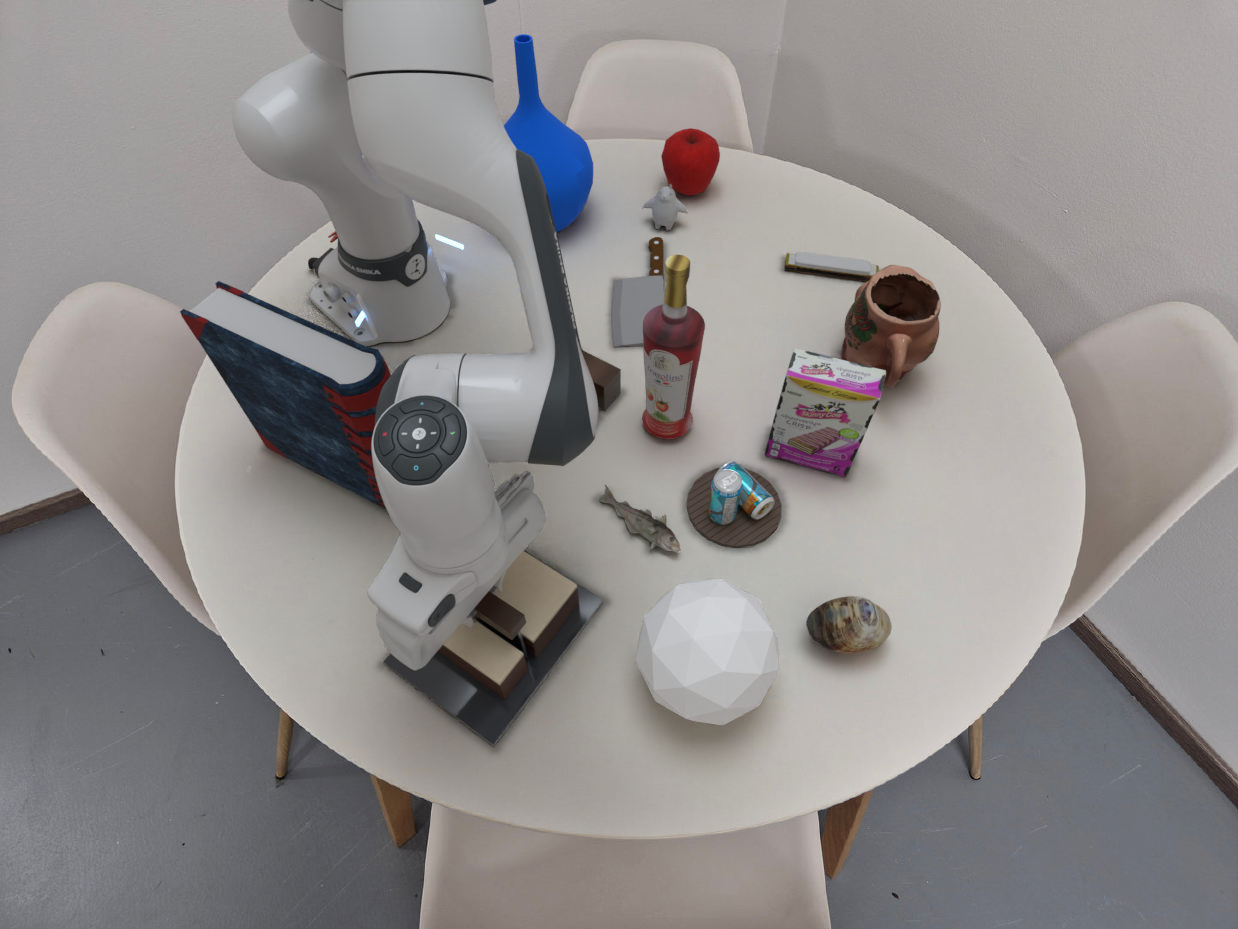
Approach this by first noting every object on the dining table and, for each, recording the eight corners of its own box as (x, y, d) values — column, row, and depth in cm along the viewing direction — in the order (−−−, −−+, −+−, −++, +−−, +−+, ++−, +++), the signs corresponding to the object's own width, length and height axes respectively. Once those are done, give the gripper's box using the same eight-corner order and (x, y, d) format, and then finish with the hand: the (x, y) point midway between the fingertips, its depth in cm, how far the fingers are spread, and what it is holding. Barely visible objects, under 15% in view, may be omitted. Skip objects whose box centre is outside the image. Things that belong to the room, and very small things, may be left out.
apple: (656, 203, 134) (659, 146, 125) (664, 171, 139) (666, 114, 130) (713, 209, 133) (719, 152, 124) (718, 176, 138) (724, 119, 129)
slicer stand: (518, 402, 107) (513, 378, 103) (559, 361, 112) (556, 336, 108) (581, 437, 104) (579, 414, 100) (620, 393, 108) (620, 369, 104)
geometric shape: (709, 659, 91) (779, 568, 84) (745, 769, 78) (830, 673, 72) (603, 630, 86) (669, 531, 79) (624, 743, 73) (704, 637, 67)
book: (444, 488, 99) (398, 354, 79) (411, 528, 96) (354, 399, 75) (298, 416, 106) (221, 276, 86) (262, 451, 103) (173, 314, 83)
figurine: (638, 229, 130) (639, 189, 123) (645, 208, 133) (646, 168, 126) (685, 235, 128) (688, 195, 122) (690, 214, 132) (694, 173, 125)
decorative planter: (928, 427, 104) (965, 356, 93) (838, 422, 105) (864, 351, 94) (907, 323, 116) (938, 249, 105) (826, 320, 117) (848, 245, 105)
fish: (675, 567, 93) (697, 533, 93) (664, 565, 90) (687, 529, 90) (596, 508, 100) (617, 476, 99) (583, 504, 96) (604, 471, 96)
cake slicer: (451, 618, 87) (435, 582, 80) (465, 602, 88) (450, 565, 81) (519, 665, 84) (509, 632, 77) (533, 648, 85) (524, 614, 78)
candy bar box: (763, 458, 102) (783, 374, 88) (771, 430, 104) (792, 345, 91) (847, 480, 99) (881, 398, 86) (853, 451, 102) (887, 367, 89)
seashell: (877, 613, 89) (897, 582, 82) (888, 661, 85) (910, 632, 79) (795, 616, 88) (809, 584, 82) (803, 663, 85) (818, 635, 79)
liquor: (632, 437, 104) (634, 276, 81) (650, 398, 108) (656, 234, 85) (684, 452, 102) (701, 292, 79) (700, 412, 106) (720, 249, 83)
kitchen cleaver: (614, 237, 127) (675, 235, 126) (615, 242, 128) (675, 240, 127) (609, 344, 113) (677, 343, 112) (610, 349, 114) (677, 347, 113)
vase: (505, 263, 125) (476, 83, 100) (476, 199, 135) (443, 21, 110) (610, 236, 128) (607, 56, 104) (574, 176, 138) (563, -1, 114)
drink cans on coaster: (667, 498, 98) (670, 461, 92) (738, 453, 102) (746, 415, 96) (728, 565, 92) (736, 531, 86) (801, 515, 96) (813, 479, 90)
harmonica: (783, 271, 123) (786, 261, 121) (785, 258, 125) (787, 249, 123) (876, 283, 121) (879, 274, 120) (876, 271, 123) (880, 261, 121)
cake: (384, 664, 85) (370, 644, 81) (498, 535, 95) (491, 511, 90) (494, 746, 80) (486, 731, 76) (603, 601, 90) (602, 580, 85)
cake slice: (423, 640, 86) (413, 622, 82) (446, 613, 88) (438, 594, 84) (505, 699, 82) (499, 683, 78) (528, 670, 84) (523, 652, 80)
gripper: (503, 448, 75) (519, 521, 86) (351, 607, 65) (392, 665, 77) (554, 477, 73) (564, 548, 84) (405, 646, 63) (439, 700, 75)
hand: (481, 605), depth 80 cm, fingers closed on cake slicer, 2 cm apart
